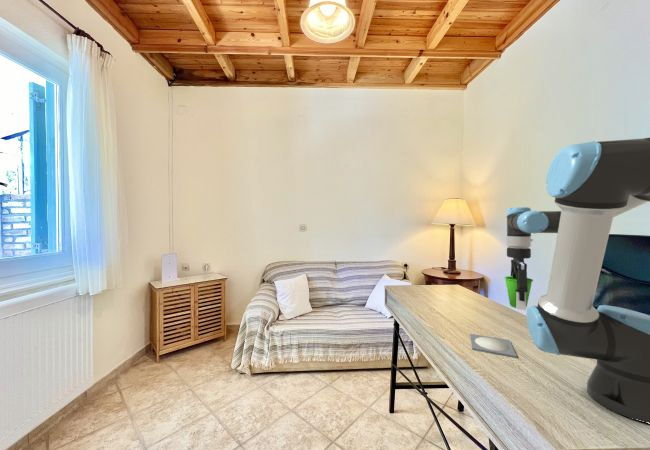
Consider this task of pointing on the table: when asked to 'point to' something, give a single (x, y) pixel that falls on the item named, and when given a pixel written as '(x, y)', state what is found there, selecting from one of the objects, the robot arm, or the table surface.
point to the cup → (512, 287)
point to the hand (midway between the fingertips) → (518, 305)
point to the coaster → (492, 345)
